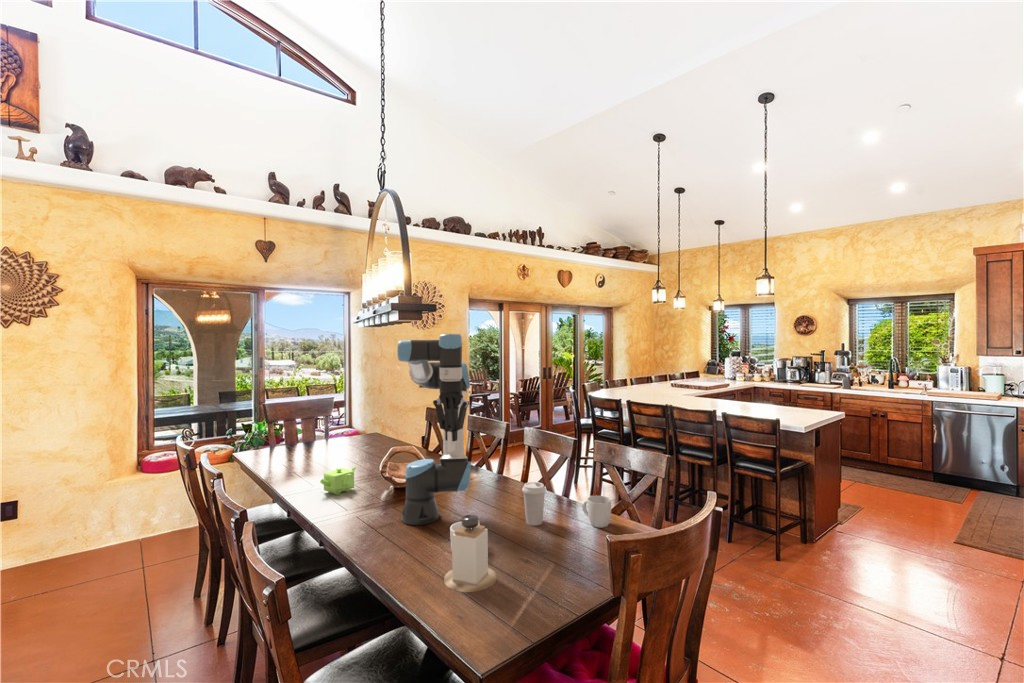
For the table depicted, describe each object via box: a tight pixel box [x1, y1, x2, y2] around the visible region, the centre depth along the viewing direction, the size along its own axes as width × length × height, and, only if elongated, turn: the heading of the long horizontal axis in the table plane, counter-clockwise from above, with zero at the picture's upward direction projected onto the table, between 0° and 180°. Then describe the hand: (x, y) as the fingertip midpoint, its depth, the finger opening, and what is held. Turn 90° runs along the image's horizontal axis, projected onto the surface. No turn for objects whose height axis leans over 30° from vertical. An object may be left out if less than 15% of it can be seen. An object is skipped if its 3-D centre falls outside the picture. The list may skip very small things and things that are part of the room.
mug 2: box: [582, 495, 612, 529], centre depth 185 cm, size 13×9×10 cm
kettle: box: [319, 466, 358, 496], centre depth 226 cm, size 15×14×11 cm
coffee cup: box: [521, 481, 547, 527], centre depth 186 cm, size 10×10×15 cm
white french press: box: [451, 524, 489, 587], centre depth 142 cm, size 8×8×15 cm
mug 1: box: [449, 520, 481, 551], centre depth 164 cm, size 13×10×8 cm
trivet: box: [443, 567, 498, 593], centre depth 142 cm, size 16×16×1 cm
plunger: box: [461, 514, 479, 530], centre depth 142 cm, size 6×6×15 cm
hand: (451, 450), depth 156 cm, fingers closed
